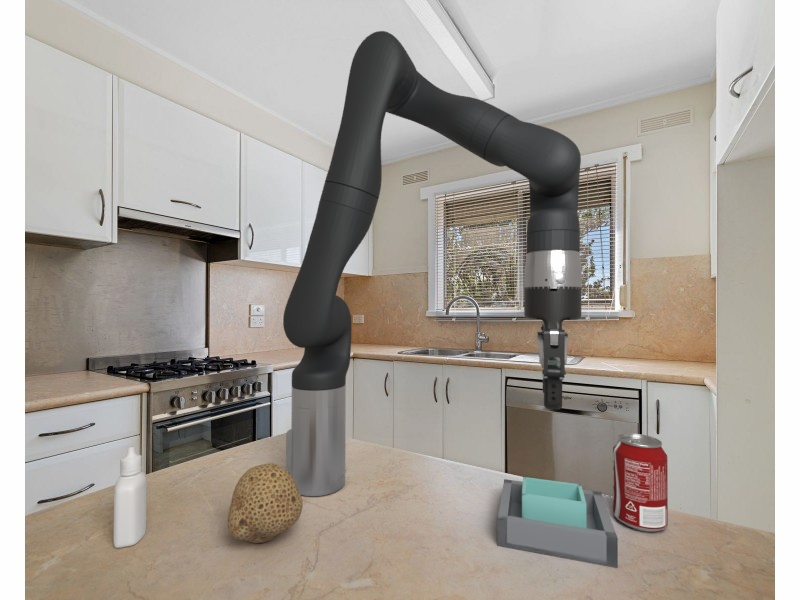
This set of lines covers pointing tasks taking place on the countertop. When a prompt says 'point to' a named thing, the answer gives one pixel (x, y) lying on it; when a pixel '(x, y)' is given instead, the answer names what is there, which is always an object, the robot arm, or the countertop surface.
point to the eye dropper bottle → (130, 501)
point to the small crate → (553, 502)
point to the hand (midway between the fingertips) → (551, 400)
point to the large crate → (558, 530)
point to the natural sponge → (264, 504)
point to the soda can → (640, 482)
